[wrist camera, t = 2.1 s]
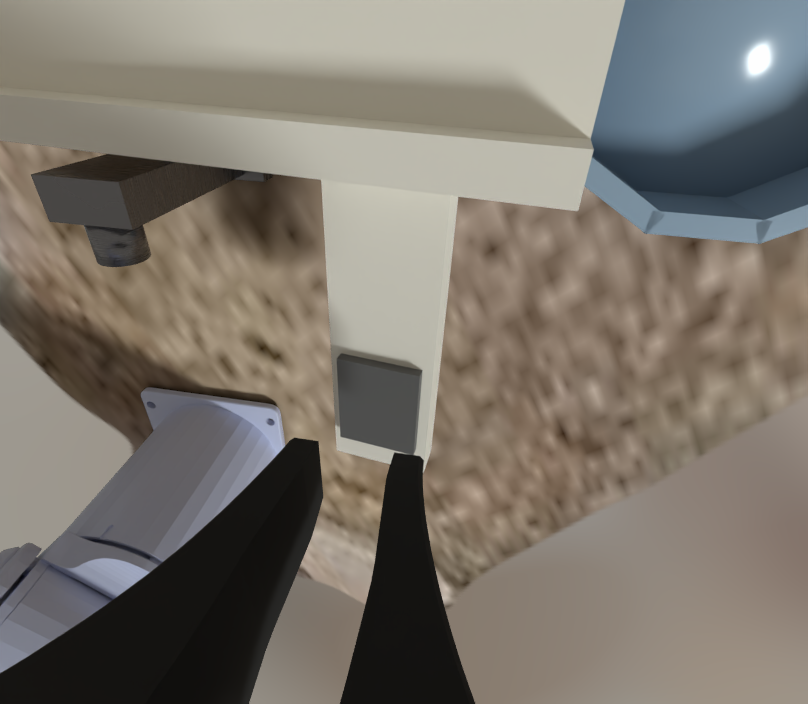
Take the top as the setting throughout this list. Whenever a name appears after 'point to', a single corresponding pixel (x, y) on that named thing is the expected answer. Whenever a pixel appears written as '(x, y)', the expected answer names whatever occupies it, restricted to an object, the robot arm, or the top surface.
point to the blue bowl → (706, 119)
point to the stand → (125, 198)
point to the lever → (335, 139)
